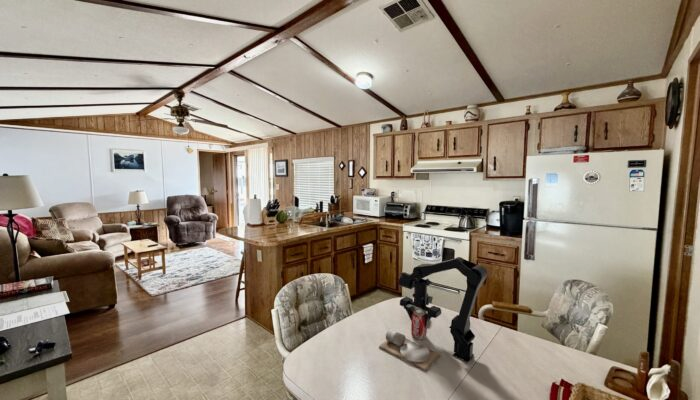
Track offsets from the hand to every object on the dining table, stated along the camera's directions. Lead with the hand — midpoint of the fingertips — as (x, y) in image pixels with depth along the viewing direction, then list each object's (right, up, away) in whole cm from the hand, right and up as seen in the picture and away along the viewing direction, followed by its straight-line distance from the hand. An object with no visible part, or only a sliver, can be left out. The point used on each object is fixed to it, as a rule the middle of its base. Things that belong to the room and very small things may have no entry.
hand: (419, 324), depth 138 cm
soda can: (0, -6, +1) cm, 6 cm away
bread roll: (+3, -5, +19) cm, 20 cm away
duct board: (-7, -7, -11) cm, 15 cm away
